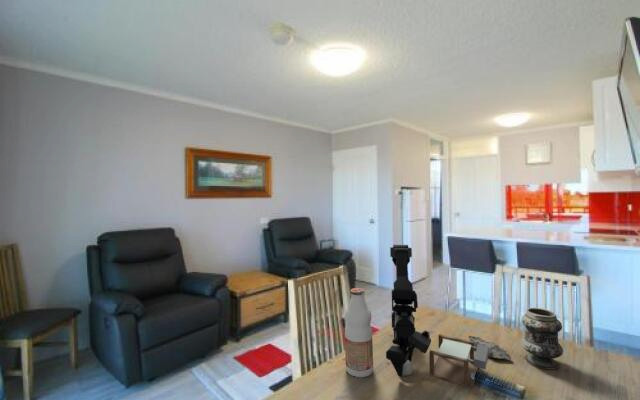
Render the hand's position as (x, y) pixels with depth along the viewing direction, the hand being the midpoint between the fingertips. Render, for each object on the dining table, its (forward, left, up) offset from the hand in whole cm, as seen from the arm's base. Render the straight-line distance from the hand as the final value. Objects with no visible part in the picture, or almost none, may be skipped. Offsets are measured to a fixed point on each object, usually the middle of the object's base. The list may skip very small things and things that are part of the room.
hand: (404, 369), depth 105 cm
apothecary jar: (+39, +31, -2) cm, 50 cm away
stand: (+14, +11, -1) cm, 18 cm away
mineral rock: (+23, +29, -2) cm, 37 cm away
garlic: (0, 0, -2) cm, 2 cm away
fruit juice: (-14, -6, -2) cm, 15 cm away
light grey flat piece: (+17, +11, +5) cm, 20 cm away
